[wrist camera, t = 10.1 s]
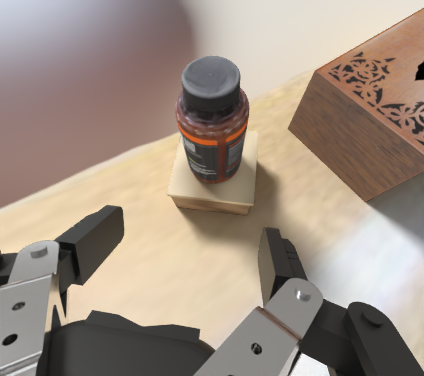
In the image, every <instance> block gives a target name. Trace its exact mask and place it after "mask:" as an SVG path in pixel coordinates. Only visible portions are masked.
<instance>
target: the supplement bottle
mask: <svg viewBox="0 0 424 376" xmlns="http://www.w3.org/2000/svg"><path fill="white" fill-rule="evenodd" d="M181 79H182V86H183V91H182V92H181V93H180V95H179V97H178V99H177V102H176V107H175V112H176V118H177V123H178V127H179V130H180V134H181V138H182V142H183V146H184V149H185V153H186V157H187V161H188V164H189V167H190V170H191V171H192V173H193V174H194V175H195V176H196V177H197V178H198V179H200V180H202V181H204V182H208V183H220V182H224V181H227V180H229V179H230V178H231V177H233V176H234V175H235V173H236V172H237V171H238V169H239V166H240V163H241V158H242V152H243V146H244V141H245V135H246V129H247V124H248V118H249V102H248V99H247V96H246V94H245V93H244V91H243V90H242V89H241V88H240V72H239V69H238V68H237V66H236V65H235V64H234V63H233V62H231V61H230V60H227V59H225V58H222V57H219V56H206V57H202V58H198V59H196V60H194V61H192V62H191V63H189V64H188V65H187V66H186V68H185V69H184V71H183V72H182V78H181Z"/></svg>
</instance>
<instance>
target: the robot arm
mask: <svg viewBox="0 0 424 376" xmlns="http://www.w3.org/2000/svg"><path fill="white" fill-rule="evenodd" d="M123 236H124V220H123V210H122V208H121V207H119V206H111V205H106V206H105V207H103V208H102V209H101V210H99V211H98V212H96V213H93V214H91V215H88V216H86V217H85V218H84V219H82V220H81V221H80V222H78V223H77V224H75V225H74V227H71V228H70V229H69V230H67V231H66V232H64V233H63V234H62V235H60V236H59V237H58V238H56V239H55V240H54V241H50V240H47V241H40V242H36V243H33V244H30V245H28V246H26V247H25V248H23V249H22V250H21V251H20V252H19V253H8V254H1V251H0V376H291V375H292V373H293V371H294V369H295V367H296V365H297V363H298V361H299V359H300V358H301V356H302V354H305V355H307V356H309V357H311V358H313V359H315V360H317V361H319V362H321V363H323V364H325V365H327V367H328V371H329V374H330V376H424V371H423V370H422V368H421V367H420V365H419V363H418V362H417V360H416V359H415V357H414V356H413V354H412V353H411V351H410V350H409V348H408V346H407V345H406V343H405V342H404V340H403V339H402V337H401V336H400V334H399V332H398V331H397V329H396V328H395V326H394V325H393V323H392V322H391V321H390V319H389V318H388V317H387V316H386V315H385V314H383V313H382V312H381V311H379V310H378V309H376V308H375V307H373V306H371V305H369V304H366V303H362V302H352V303H351V304H350V305H349V306H348V308H347V309H346V308H344V307H341V306H339V305H336V304H334V303H331V302H329V301H327V300H325V299H323V296H322V294H321V292H320V291H319V290H318V288H317V287H316V286H314V285H313V284H312V283H310V282H308V280H307V277H306V275H305V272H304V270H303V267H302V264H301V262H300V260H299V257H298V254H297V252H296V249H295V247H294V245H293V244H292V243H291V242H290V241H289V240H288V239H282V238H281V235H280V232H279V229H278V228H270V227H264V228H263V232H262V236H261V241H260V246H259V251H258V266H259V274H260V282H261V290H262V298H263V307H264V308H261V307H260V306H257V307H256V308H255V309H254V310H253V311H252V312H251V313H250V314H249V315H248V316H247V317H246V318H245V320H244V321H243V322H242V323H241V324H240V325H239V326H238V327H237V328H236V329H235V331H234V332H233V333H232V334H231V335H230V336H229V337H228V338H227V339H226V340H225V341H224V343H223V344H222V345H221V346H220V347H219V348H218V349H217V350H215V349H213V348H212V347H211V346H210V345H208V344H207V343H205V342H204V341H202V340H200V339H199V335H200V329H197V328H191V327H185V326H180V325H174V324H171V325H158V326H146V327H143V326H140V325H138V324H136V323H134V322H132V321H130V320H128V319H126V318H124V317H122V316H120V315H117V314H112V313H106V312H100V311H94V310H92V312H91V313H90V315H89V316H88V317H87V319H86V320H80V321H75V322H72V323H68V322H69V289H68V287H69V286H70V285H71V284H76V285H82V286H83V285H84V283H85V282H86V281H87V280H88V279H89V278H90V277H91V275H92V274H93V273H94V272H95V271H96V270H97V268H98V267H99V266H100V265H101V264H102V263H103V261H104V260H105V259H106V258H107V257H108V256H109V254H110V253H111V252H112V251H113V250H114V249H115V248H116V246H117V245H118V244H119V243H120V242H121V240H122V238H123Z"/></svg>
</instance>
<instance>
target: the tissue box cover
mask: <svg viewBox="0 0 424 376" xmlns="http://www.w3.org/2000/svg"><path fill="white" fill-rule="evenodd" d="M418 74H419V75H418ZM421 76H422V77H421ZM288 129H289V130H290V131H291V132H292V133H293V134H294V135H295V136H296V137H297V138H298V139H299V140H300V141H301V142H302V143H303V144H304V145H305V146H307V147H308V148H309V149H310V150H311V151H312V152H313V153H314V154H315V155H316V156H317V157H318V158H319V159H320V160H321V161H322V162H323V163H324V164H325V165H327V166H328V167H329V168H330V169H331V170H332V171H333V172H334V173H335V174H336V175H337V176H338V177H339V178H340V179H341V180H342V181H343V182H344V183H346V184H347V185H348V186H349V187H350V188H351V189H352V190H353V191H354V192H355V193H356V194H357V195H358V196H359V197H360V198H361V199H362V200H363V201H364V202H366V201H368V200H370V199H372V198H374V197H376V196H377V195H379V194H381V193H383V192H385V191H387V190H389V189H391V188H393V187H395V186H397V185H399V184H400V183H402V182H404V181H406V180H408V179H410V178H412V177H414V176H416V175H418V174H420V173H421V172H423V171H424V8H423V9H421V10H419V11H418V12H416V13H414V14H412V15H411V16H409V17H407V18H406V19H404V20H402V21H400V22H399V23H397V24H395V25H393V26H392V27H390V28H388V29H386V30H385V31H383V32H381V33H380V34H378V35H376V36H374V37H373V38H371V39H369V40H367V41H366V42H364V43H362V44H360V45H359V46H357V47H355V48H354V49H352V50H350V51H348V52H347V53H345V54H343V55H341V56H340V57H338V58H336V59H334V60H333V61H331V62H329V63H328V64H326V65H324V66H322V67H321V68H319V69H317V70H315V72H314V74H313V76H312V78H311V80H310V82H309V84H308V87H307V89H306V91H305V93H304V95H303V97H302V99H301V101H300V104H299V106H298V108H297V110H296V112H295V114H294V116H293V118H292V121H291V123H290V125H289V127H288Z"/></svg>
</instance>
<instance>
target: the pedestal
mask: <svg viewBox="0 0 424 376" xmlns="http://www.w3.org/2000/svg"><path fill="white" fill-rule="evenodd" d="M257 145H258V132H254V131H246V135H245V141H244V146H243V152H242V158H241V163H240V166H239V169H238V171H237V172H236V173H235V175H234V176H233V177H231V178H230V179H229V180H227V181H224V182H220V183H208V182H204V181H202V180H200V179H198V178H197V177H196V176H195V175H194V174H193V173H192V171H191V170H190V167H189V164H188V161H187V157H186V153H185V149H184V146H183V142H182V138H181V135H180V139H179V143H178V148H177V152H176V156H175V161H174V165H173V169H172V173H171V178H170V182H169V186H168V191H167V195H168V196H171V197H172V199H173V201H174V203H175V204H176V206H177V207H181V208H189V209H198V210H206V211H214V212H222V213H231V214H239V215H247V213H248V210H249V208H250V206H253V205H254V196H255V179H256V162H257Z"/></svg>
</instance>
